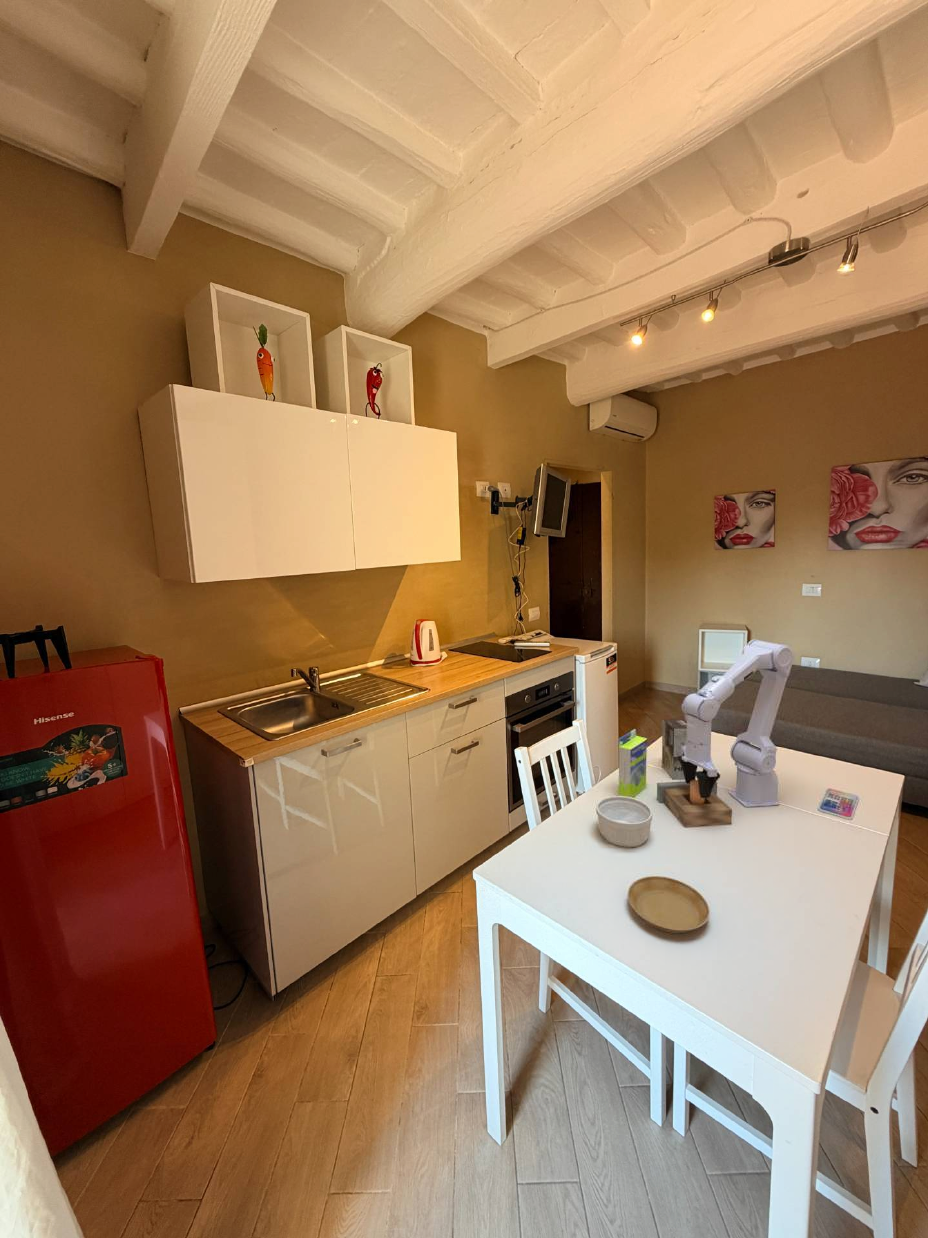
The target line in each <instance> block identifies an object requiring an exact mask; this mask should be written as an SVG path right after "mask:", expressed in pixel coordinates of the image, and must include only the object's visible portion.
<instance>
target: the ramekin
mask: <svg viewBox="0 0 928 1238" xmlns="http://www.w3.org/2000/svg"><path fill="white" fill-rule="evenodd" d="M595 813H596V815H597V821H598V828H599V831H600V834H601V835H602V837H604V839H605V840H606V841H608V842H610V843H611V844H613V845H616V846H619V847H623V848H624V847H625V848H633V847H639V846H641V845H643V844H644V843H645V842H646V841H648V838H649V836H650V832H651V825H652V820H653V810H652V808H651V807H650V806H649V805H648V804H647V803H646V802H644V801H642V800H640V799H638V798H635V797H634V798H632V797H626V796H619V795H612V796H607V797H604V798H602V799H600V800H599V801H598V802H597V804H596V808H595Z"/></svg>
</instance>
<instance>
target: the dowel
mask: <svg viewBox="0 0 928 1238" xmlns="http://www.w3.org/2000/svg"><path fill="white" fill-rule="evenodd" d="M704 801H705V798H701V797H700V793H699V784H698V780H697V779H695V780H692V781H691V782H690V804H691V805H701V804H704Z"/></svg>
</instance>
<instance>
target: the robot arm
mask: <svg viewBox="0 0 928 1238" xmlns="http://www.w3.org/2000/svg"><path fill="white" fill-rule="evenodd" d="M794 659H795V655H794V653H793V650H792V648H791V647H790V646H789V645H787V644H779V643H774V642H773V643H772V642H768V641H764V640H759V639H751V640H750V641H748V642H747V644H746V645H745V646H744V647H743V648H742V655H741V656H739V658H738V659H737V660H736V661H735V662H734V663H733V665H731V666H730V667H729V669H728V670H727V671H725V673H724V674H723V675H715V676H713V677H712V678H711V679H710V681H708V682H707V683H706V684H705V685H704V686H703V687H701V689H700V690H698V691H697V692H696V693H691V694H688V695H687V696H686V697H684V699H683V702H682V704H681V710H682V713H684V720H685V721H686V722H687V735H686V746H681V753H682V754H683V755H682V756H678V760H679V762H680V764H681V766H682V769H683V773H684V778H685V779H684V781H686V783H687V784H690V782H691V781H692V780H698V784H699V793H700V797H701V798H709V797H710V795H711V792H712V789H713V786H714V784H715V783H716V782H718V781H719V779H720V778H721V774H720V773H719V772H718V768H716V766H715V764H714V761H713V759H712V757H711V752H712V747H711V746H712V745H711V744H712V720H713V719H715V718H716V716H717V714H718V711H719V709H720V708H721V704H723V702H725V700H727V699H728V698H729V697H730V696H732V694H733V693H734V692H735V685H736V684H738V683H739V682H740V681H742V679H744V678H745V677H747V676H748V675H749V674H751V673H752V672H753V671H754V670H758V671H759V672H760V674H761V677H762V679H761V682H760V687H759V688H758V692H757V697H756V699H755V703H754V707H753V710H752V712H751V713H752V714H751V716H750V720H749V724H748V727H747V730H746V731H745V732H741V733H739V734H737V736H736V739H735V742H733V744H732V745H731V748H730V757H731V759H732V761H734V766H736V781H735V782H736V783H735V785H736V787H735V790H729V791H728V794H729V795H730V796H731V797H733V798H735V800H736V801H738V802H739V803H740V804H741V805H742V806H743V807H745V808H752V807H753V808H754V807H756V808H757V807H767V806H768V807H770V806H771V807H772V806H779V805H780V802H778V797H779V796H778V795H779V793H778V791H779V778H778V775H777V773H776V772H775V770H774V769H775V767H776V764H777V759H776V758H777V757H776V756H777V755H776V754H777V751H778V748H777V746H776V745H775V744H774V743H773V742H772V740H771V738H770V737H771V734H772V730H773V727H774V724H775V721H776V717H777V714H778V712H779V711H778V710H779V707H780V703H781V700H782V697H783V693H784V689H785V687H786V683H787V680H788V677H789V676H790V673H791V670H792V667H793V666H792V665H793V663H794ZM698 767H699V768H701V769H702V770H699V771H698Z"/></svg>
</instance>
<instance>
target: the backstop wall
mask: <svg viewBox="0 0 928 1238" xmlns="http://www.w3.org/2000/svg"><path fill="white" fill-rule="evenodd" d="M676 788H690V784H687V783H686V781H685V780H683V781H682V780H681V781H666V782H665V781H664V782H657V783H656V800H657V801H658V802H659V804H664V789H676ZM712 792H713V793H714V794H715V795H716V796H718V781H716V783H715V784H714V786H713V789H712Z"/></svg>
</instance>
